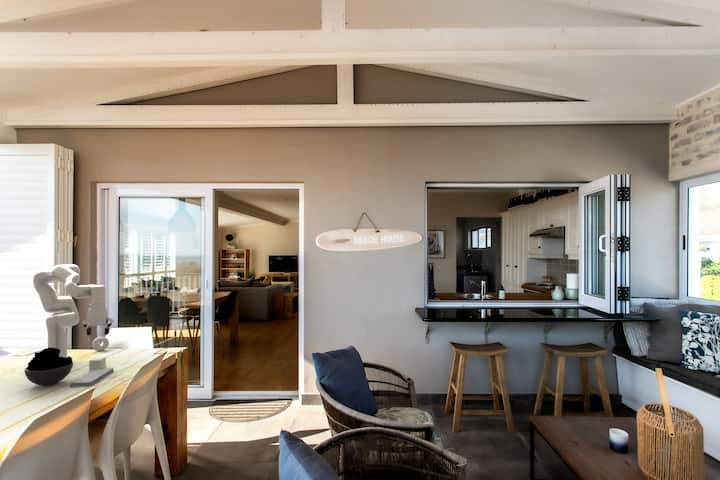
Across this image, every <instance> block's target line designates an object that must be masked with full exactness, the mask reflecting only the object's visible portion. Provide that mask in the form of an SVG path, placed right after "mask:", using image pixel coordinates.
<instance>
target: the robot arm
mask: <svg viewBox="0 0 720 480" xmlns="http://www.w3.org/2000/svg"><path fill="white" fill-rule="evenodd" d="M80 273H81V269H80V267H79V266H78V265H76V264H68V263H67V264H58V265H54V267H53V268H52V269H43V270H38V271H35V273H33V276H32V278H31V283H32V285H33V288H34V289H35V291H36V292H37V295H38V296H39V299H40V302H41V305H42V308H43V309H44V312H46V313H48V314H50V315H48V316H47V317H46V320H45V326H46V331H47V348H52V347H53V348H57V349H60V354H59V357H65V358H66V357H68V334H67V331H66V330H65V329H64V328H68V327H74V326H77V325H78V324H79V322H80V313H79V311H78V308H77V307H76V302H75V301H74V299H84V298H85V299H87V298H89V299H90V300H89V301H90V302H89V304H88V305H87V307H89V308H88V311H87V316H86V319H84V320H82V321H81V324H82V326H83V327H84V328H85V330H86V336H91V335H92V328H91V327H94V326H95V327H96V326H104V335H105V336H106V335H109V333H110V327H111V326H112V325H113V323H114V321H115V320H114V319H112V318H110V317H109V314H108V313H109V312H108V309H107V307H106V286H105V285H101V284H99V285H97V284H86V285H85V284H84V285H83V284H82V285H77V284H79V283H80V281H81V276H80ZM55 283H63V284H64V290H65V292H66V293H67V294H68V295H69V296H67V295H63V296H62V295H61V296H59V295H58V293H57V291H56V289H55V288H54V287H53V286H52V285H50V284H55ZM73 298H74V299H73Z"/></svg>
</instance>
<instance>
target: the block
mask: <svg viewBox="0 0 720 480" xmlns="http://www.w3.org/2000/svg"><path fill="white" fill-rule="evenodd" d="M106 360H107V358H106V356H103V357H102V356H101V357H94V358H92V359H89V360H88V361H89V363H88V364H89V365H88V367H89V368H88V370H89V371H88V372H90V371H92V370H94V369H102V368H107V367H106V366H107V363H106V362H107V361H106Z"/></svg>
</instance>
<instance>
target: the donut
mask: <svg viewBox="0 0 720 480" xmlns="http://www.w3.org/2000/svg"><path fill="white" fill-rule="evenodd" d="M100 342H102V345H98V344H99V343H100ZM109 346H110V341H109V339H108V338H107V337H106V336H97V337H96V338H95V339H93V341H92V342H91V347H92V349H93V350H95V351H97V350H99V351H97V352H102V351H104V350H107V349H108V347H109Z"/></svg>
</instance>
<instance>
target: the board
mask: <svg viewBox="0 0 720 480" xmlns="http://www.w3.org/2000/svg"><path fill="white" fill-rule="evenodd" d="M113 372H114V367H108V368H107V367H105V368H102V369H94V370H92V371H88V372H87V373H84V374H83V375H81V376H79V377H78V378H76V379H75V380H73V381H71V382H70V383H69V388H76V387H77V388H79V387H91V386H93V385H94V384H96V383H97V382H99V381H101V380H102V379H103V378H105V377H107V376H108V375H110V374H112V373H113Z"/></svg>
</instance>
